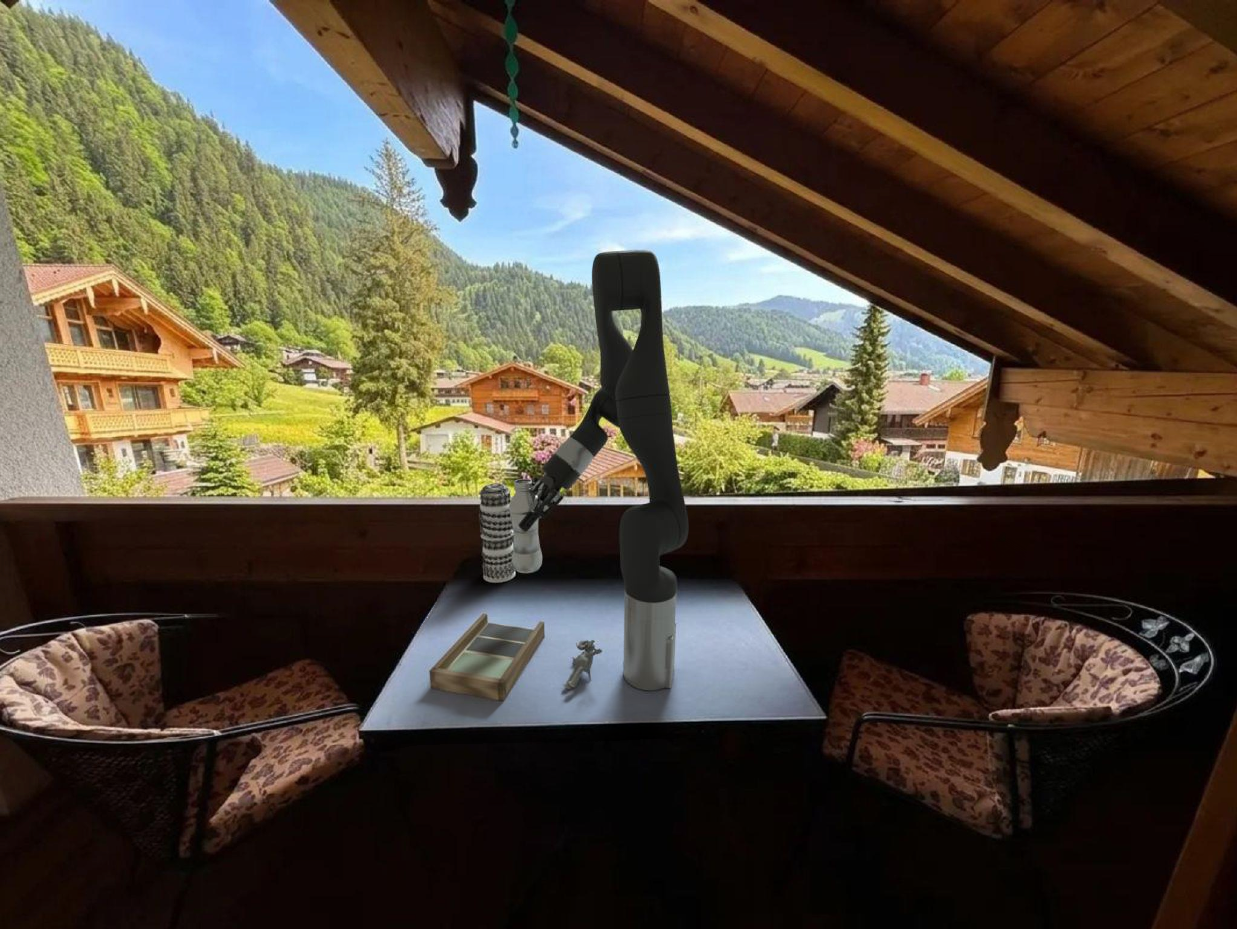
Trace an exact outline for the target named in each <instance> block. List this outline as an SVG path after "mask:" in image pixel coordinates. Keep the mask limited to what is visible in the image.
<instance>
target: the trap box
mask: <svg viewBox="0 0 1237 929" xmlns="http://www.w3.org/2000/svg"><path fill="white" fill-rule="evenodd" d="M545 632H546V631H545V621H539V622H538V623H537V625H536V626H535V628H529V627H522V626H517V625H510V624H509V625H508V624H502V623H494V622H493V623H492V622H489V621H488V614H487V613H481V615H480V616H479V617H478V618H477V619H476V620H475V621H474V622H473V623H472V625H471V626H469V628H467V630H465V632H464V633H463V634H462V635H461V636H460V637H459V639H458V640H457V641H455V643H454V644H453V645H452V646H451V647H450V648H448V650H447V651H446V652H445V653H444V655H443V656H442V657H441V658H440V659H439V660H437V662H436V663H435V664H434V665H433V666H432V667H431V668H430V669H429V670H428V672H429V682H430V688H431V689H435V690H440V691H446V692H452V693H456V694H457V693H458V694H463V695H469V696H474V697H479V698H485V699H491V700H496V701H501V702H505V700H506V699H507V698H508V696H509V694H510V692H511V691H512V689H513V687H514V685H516V682H518V680H519V678H520V677H521V675H522V673H523V671H525V668H526V667H527V665H528V664H529V662H530V661H531V659H532V657H533V656H534V655H535V653H536V652H537V649H538V648H539V646H540V645H541V644H542V642H543V641H544V639H545V636H546V635H545Z"/></svg>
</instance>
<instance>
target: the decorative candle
mask: <svg viewBox="0 0 1237 929" xmlns="http://www.w3.org/2000/svg"><path fill="white" fill-rule="evenodd" d="M511 492H512V490H511V489H510V488H508V486H507V485H506V484H504V483H497V482H495V483H488V484H486V485H484V486H483V487H482V489H480V490H479V491H478V494H479V495H480V503H479V507H478V508H477V509H476V510H477V511H478V518H477V519H479V521H478V524H479V526H480V528H479V531H480V538H481V539H482V552H481V556H482V559H481V560H482V562H483V563H482V565H481V566H482V573H483V576H482V577H483V580H484V581H486V582H488V583H495V584H496V583H503V582H508V581H511V580H512V579H513V578H515V577H516V570H515V568H514V567H513V563H512V554H513V537H514V535H513V526H512V520H511V517H510V511H509V504H510V501H511Z"/></svg>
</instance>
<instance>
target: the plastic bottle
mask: <svg viewBox="0 0 1237 929" xmlns="http://www.w3.org/2000/svg"><path fill="white" fill-rule="evenodd" d="M513 484H514V488H513V490H514V491H515V493H514V494H513V495H512V497H511V498H510V500H511V501H510V504H509V511H510V515H511V520H512V526H513V529H512V530H513V540H512V542H513V554H512V563H513V567H514V568H515V572H516V571H517V572H518V573H521V574H530V573H535V572H537V571H539V569H540V567H541V566H542V565H543V554H542V549H541V546H540V539H539V518H538V519H537V520H536V521H535V523H534V524H533V525H532V526H531V527H530V529H529V530H528V531H526V532H525V531H524V530H522V529H521V528H520V527H519V526H518V525H519V523H520V522H521V521H522V520H523V518H524V517H525V516H526V515H527V514H528V513H529V512H530V511H531V509H532V507H533V505H534V498H535V497H536V496H535V495H534V494H533V493H532V492H531V490H532V489H533V488H532V479H529V478H519V479H516V480H514V482H513Z"/></svg>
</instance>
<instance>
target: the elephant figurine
mask: <svg viewBox="0 0 1237 929" xmlns="http://www.w3.org/2000/svg"><path fill="white" fill-rule="evenodd" d="M595 642H596V641H595V640H594V639H593V640H588V639H586V640H580V641H579V642H578V643H577V642H575V646H576V648H577V650H579V651H582V652H581V653H580V654H579V655H578V656H577V657H573V656H571V659H572V661H573V662H574V666H575V667H574V669H573V671H572V673H571V674H570V676H569V677H568V679H567V680H566V682H565V683H564V684H563V686H564V688H566V689H568V690H571V689H572V688H576V687H577V684H578V683H579V680H580V677H581V676H582V674H583V673H584V672H585V673H586V674H587V675H588V678H589V681H590V682H591V680H592V679H591V668H592V665H593V661H594V656H595V655H599V654H602V653H603V649H602V648H598V649H597V648H596V645H595V644H594V643H595Z"/></svg>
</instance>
